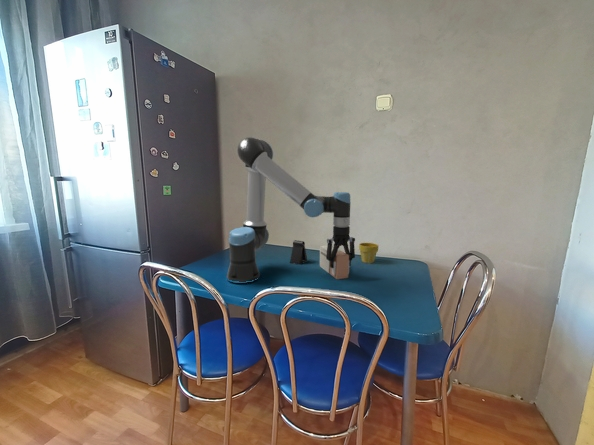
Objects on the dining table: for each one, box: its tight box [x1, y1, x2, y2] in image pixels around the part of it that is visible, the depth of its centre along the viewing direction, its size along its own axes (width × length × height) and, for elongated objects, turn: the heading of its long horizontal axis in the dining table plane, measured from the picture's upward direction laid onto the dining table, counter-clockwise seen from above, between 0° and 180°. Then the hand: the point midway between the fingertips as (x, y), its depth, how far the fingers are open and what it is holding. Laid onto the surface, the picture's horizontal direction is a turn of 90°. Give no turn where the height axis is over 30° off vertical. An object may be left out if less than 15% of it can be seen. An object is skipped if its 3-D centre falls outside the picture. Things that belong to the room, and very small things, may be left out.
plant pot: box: [358, 242, 379, 264], centre depth 158 cm, size 10×10×10 cm
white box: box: [319, 244, 341, 274], centre depth 145 cm, size 6×12×11 cm, turn 18°
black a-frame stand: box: [289, 239, 308, 265], centre depth 158 cm, size 9×6×12 cm, turn 147°
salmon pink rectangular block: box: [328, 250, 350, 280], centre depth 135 cm, size 6×8×11 cm
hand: (340, 273), depth 135 cm, fingers open, 6 cm apart
